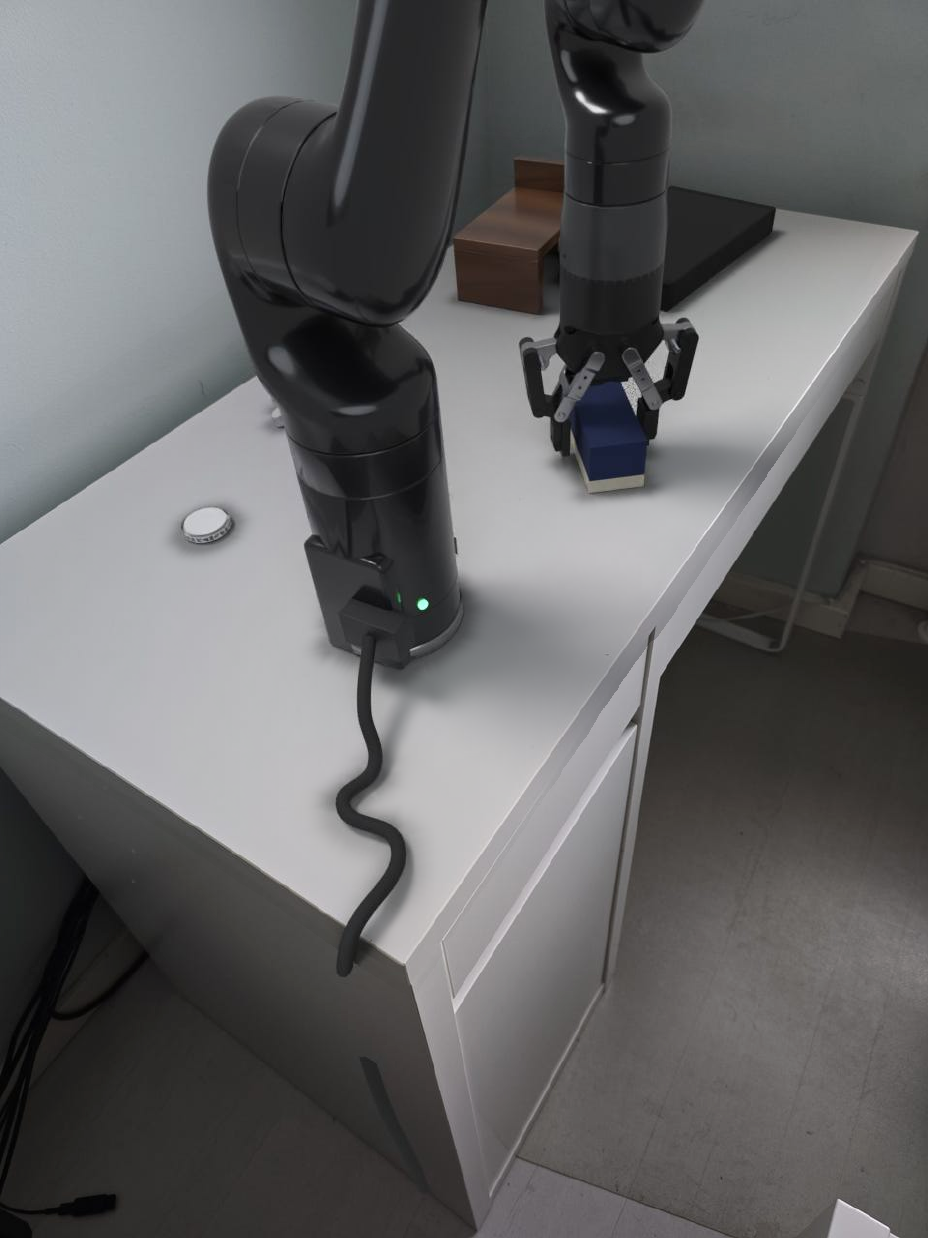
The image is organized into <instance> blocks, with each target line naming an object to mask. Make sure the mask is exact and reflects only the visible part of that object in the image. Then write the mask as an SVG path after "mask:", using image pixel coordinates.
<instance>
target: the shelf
mask: <svg viewBox="0 0 928 1238" xmlns="http://www.w3.org/2000/svg"><path fill="white" fill-rule="evenodd" d="M513 175H514V187H513V188H511V189H510V190H509V191H508V192H506V193H505V194H504V195H503V196H501V197H500V198H499V199H497V201H495V202H494V203H493V204H492V205H491V206H489V207H488V208H487V209H486V210H485V211H483V212H482V213H481V214H479V215H478V216H477V217H476V218H475V219H473V220H472V221H470V223H468V224H467V225H466V226H465V227H464V228H462V229H461V230H460V231H459V232H457V233H456V234H454V235H453V237H452V242H453V243H452V244H453V254H454V266H455V278H456V279H455V280H456V289H457V292H456V293H457V300H458V301H463V302H468V303H473V304H479V305H483V306H489V307H494V308H501V309H506V310H510V311H511V310H512V311H517V312H521V313H528V314H533V315H540V314H541V313H542V312H543V311H544V258H543V257H545V255H546V254H547V253H549V252H550V253H557V254H559V251H558V241H559V237H560V219H561V211H562V204H563V195H564V159H557V158H547V157H537V156H528V155H519V154H518V155H516V156H515V157H514V158H513Z"/></svg>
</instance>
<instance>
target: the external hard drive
mask: <svg viewBox="0 0 928 1238" xmlns="http://www.w3.org/2000/svg"><path fill="white" fill-rule="evenodd" d="M667 204H668V229H667V240H666V251H665V262H664V273H663V284H662V295H661V306H660V312H665V313H667V312H669V311H670V310H672V309H673V308H674V307H675V306H677V305H678V304H679V303H681V302H682V301H683V300H685V299H686V298H688V297H689V296H690V295H692V294H693V293H695V291H697V290H698V289H699V288H700V287H702V286H703V285H704V284H706V283H707V282H708V281H710V280H711V279H712V278H713V277H715V276H716V275H718V274H719V273H720V272H721V271H723V270H724V269H725V268H727V267H728V266H729V265H731V264H732V263H734V262H735V261H736V260H737V259H738V258H740V257H741V256H743V255H744V254H745V253H747V252H748V251H749V250H750V249H752V248H753V247H754V246H755V245H757V244H758V243H760V242H761V241H762V240H764V239H765V238H767V236H769V235H770V234H771V233H773V230H774V224H775V218H776V213H777V208H776V206H771V205H766V204H762V203H757V202H752V201H748V200H743V199H738V198H734V197H728V196H725V195H719V194H714V193H709V192H704V191H700V190H695V189H691V188H686V187H680V186H675V185H670V186H667ZM558 280H559V281H560V255H558Z"/></svg>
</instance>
